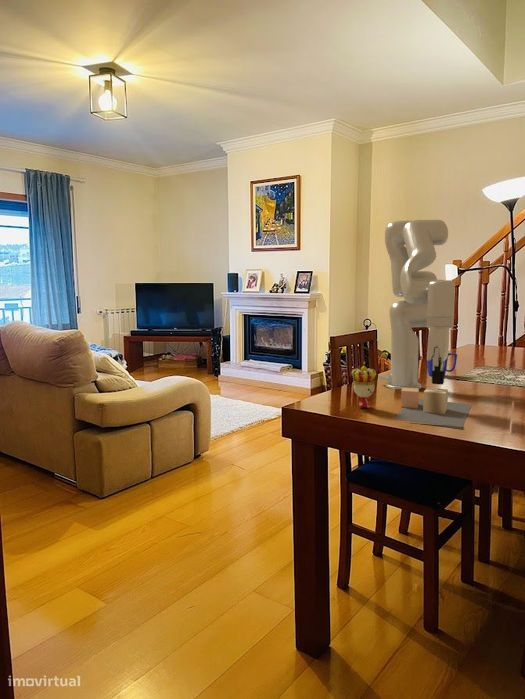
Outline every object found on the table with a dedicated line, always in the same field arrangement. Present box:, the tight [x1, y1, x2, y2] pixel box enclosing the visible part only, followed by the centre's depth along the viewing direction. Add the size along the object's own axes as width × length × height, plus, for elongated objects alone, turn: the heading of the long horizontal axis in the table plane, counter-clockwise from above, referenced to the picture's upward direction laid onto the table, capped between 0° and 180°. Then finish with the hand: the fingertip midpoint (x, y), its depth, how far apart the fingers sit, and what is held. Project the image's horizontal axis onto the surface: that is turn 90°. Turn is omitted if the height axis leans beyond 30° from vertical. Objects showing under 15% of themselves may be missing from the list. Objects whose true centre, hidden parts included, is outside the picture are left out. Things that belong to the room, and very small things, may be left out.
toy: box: [351, 360, 377, 410], centre depth 154 cm, size 7×7×15 cm
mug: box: [426, 352, 458, 377], centre depth 209 cm, size 8×12×10 cm
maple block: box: [422, 387, 449, 414], centre depth 150 cm, size 6×6×6 cm
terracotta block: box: [400, 388, 420, 408], centre depth 157 cm, size 5×5×5 cm
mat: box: [392, 398, 473, 430], centre depth 150 cm, size 18×28×1 cm, turn 153°
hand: (437, 383), depth 153 cm, fingers closed
